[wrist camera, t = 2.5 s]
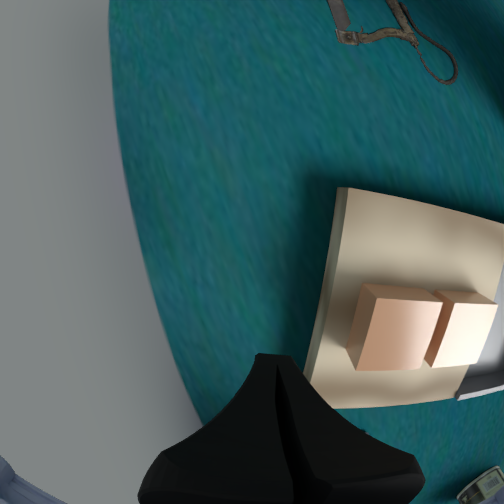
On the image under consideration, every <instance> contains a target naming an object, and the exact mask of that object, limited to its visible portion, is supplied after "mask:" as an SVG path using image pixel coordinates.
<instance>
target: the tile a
mask: <svg viewBox="0 0 504 504" xmlns="http://www.w3.org/2000/svg"><path fill="white" fill-rule="evenodd" d="M442 304H443V302H442V301H440V300H439V299H438V298H436V297H435V296H433V295H432V294H431V293H429V292H428V291H426V290H425V289H424V288H414V287H403V286H392V285H381V284H370V283H362V285H361V290H360V294H359V298H358V303H357V307H356V311H355V315H354V319H353V323H352V327H351V331H350V334H349V338H348V342H347V345H346V351H347V353H348V356H349V358H350V360H351V362H352V364H353V366H354V368H355V370H356V371H390V370H413V369H420V366H421V364H422V362H423V359H424V356H425V354H426V351H427V349H428V346H429V343H430V341H431V338H432V335H433V332H434V329H435V326H436V323H437V320H438V317H439V314H440V311H441V307H442Z"/></svg>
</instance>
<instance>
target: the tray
mask: <svg viewBox="0 0 504 504" xmlns="http://www.w3.org/2000/svg"><path fill="white" fill-rule="evenodd" d="M493 302H495V303H497V304H498V308H497V311H496V314H495V317H494V320H493V323H492V325H491V328H490V331H489V334H488V336H487V339H486V341H485V344H484V346H483V349H482V351H481V354H480V356H479V358H478V361H477V363H476V364H470V365H469V367H468V369H467V372H466V374H465V376H464V378H463V380H462V382H461V384H460V386H459V388H458V390H457V392H456V394H455V398H456V399H457V400H462V399H467V398H471V397H476V396H480V395H484V394H488V393H492V392H496V391H499V390H503V389H504V263H503V267H502V271H501V276H500V279H499V283H498V287H497V291H496V294H495V298H494V301H493Z"/></svg>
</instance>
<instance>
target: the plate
mask: <svg viewBox="0 0 504 504" xmlns="http://www.w3.org/2000/svg"><path fill="white" fill-rule="evenodd" d="M503 263H504V224H501V223H498V222H495V221H491V220H488V219H484V218H481V217H477V216H474V215H470V214H467V213H463V212H459V211H455V210H451V209H447V208H443V207H439V206H435V205H431V204H427V203H423V202H418V201H414V200H409V199H405V198H400V197H395V196H390V195H386V194H381V193H375V192H370V191H365V190H359V189H354V188H345V187H337V194H336V202H335V210H334V217H333V224H332V231H331V237H330V243H329V250H328V256H327V262H326V267H325V273H324V279H323V284H322V289H321V295H320V300H319V305H318V310H317V315H316V319H315V324H314V329H313V333H312V338H311V342H310V347H309V351H308V355H307V360H306V364H305V368H304V372H303V374H304V376H305V377H306V378H307V380H308V381H309V382H310V384H311V385H312V386H313V387H314V389H315V390H316V391H317V392H318V393H319V395H320V396H321V397H322V398H323V399H324V400H325V401H326V402H327V403H328V404H329V405H330V406H331V407H332V408H366V407H382V406H394V405H405V404H414V403H422V402H429V401H436V400H442V399H448V398H454V396H455V394H456V392H457V390H458V388H459V386H460V384H461V382H462V380H463V378H464V376H465V374H466V372H467V369H468V367H469V365H470V364H468V365H460V366H450V367H440V368H431V367H430V366H429V365H428V364H427V362H426V361H425V360H424V359H423V362H422V364H421V366H420V369H413V370H390V371H356V370H355V368H354V366H353V364H352V362H351V360H350V358H349V356H348V353H347V351H346V345H347V342H348V338H349V334H350V331H351V327H352V323H353V319H354V315H355V311H356V307H357V303H358V298H359V294H360V290H361V285H362V283H370V284H381V285H392V286H403V287H414V288H424V289H425V290H426V291H428V292H429V293H431V294H432V295H433V294H434V291H435V289H438V290H451V291H464V292H477V293H480V294H482V295H483V296H485V297H487V298H488V299H490V300H492V301H494V298H495V294H496V291H497V287H498V283H499V279H500V276H501V271H502V267H503Z"/></svg>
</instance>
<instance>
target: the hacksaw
mask: <svg viewBox="0 0 504 504" xmlns="http://www.w3.org/2000/svg"><path fill="white" fill-rule="evenodd" d="M328 2H329V3H328V4H329V6H330V8H331V9H330V10H331V12H332V14H333V18H334V21H335V23H336V24H335V25H336V27H337V29H338V30H335V31H336V34H337V37H338V41H339V43H340V42H341V43H345V44H352V45H359V43H370V42H374V41H377V40H379V39H382V38H384V37H396V38H401V40H406V41H409V42H410V43H411V45H412V46H414V47H415V48H416V49H417V47H418V45H419V42H418V40H417V39H416V37H415V35H413V34H414V32H413V31H412V29H411V27H410V26H409V25H408V21H407V19H406V17H405V15H406V16H407V18H408V20H409V22H410V23H411V25H412V27H413V28H414V29H415V31H416V32H417V33H418V34H419V35H420V36H422V37H423V38H425V39H426V40H428V41H429V42H431V43H432V44H433V45H435V46H436V47H438V48H440V49H441V50H443V51H444V52H446V53H447V54H448V55H449V57H450V58H451V60H452V62H453V64H454V76H453V77H452V79H450V80H447V81H444V80H442V79H439V78H438V77H437V76H435V75H434V74H433V73H432V72H431V71H430V70H429V68H428V67H427V66H426V65H425V62H424V60H423V59H422V58H421V55H422V54H421V53H420V52H419V50H418V49H417V52H418V54H419V55H420V59H421V61H422V63H423V64H424V67H425V68H426V70H427V71H428V72H429V73H430V74H431V75H432V76H433V77H434V78H435V79H436V80H437V81H438V82H440V83H442V84H445V85H448V84H452V83H454V82H455V80H456V79H457V75H458V66H457V63H456V60H455V58H454V57H453V55H452V54H451V53H450V51H448V50H447V49H446V48H445V47H443V46H442V45H440V44H438V43H436V42H435V41H433V40H431V39H430V38H429V37H427V36H426V35H424V34H423V33H422V32H421V31H419V29H418V28H417V27H416V25H415V24H414V22H413V20H412V19H411V17H410V15H409V12H408V10H407V7H406V6H405V5H404V4H403V3H402V2H400V5H399V3H398V1H397V0H386V2H387V4H388V5H389V7H390V8H391V10H392V12H393V14H394V16H395V17H396V19H397V21H398V22H399V25H400V27H401V28H402V29H395V28H384V29H379V30H377V31H376V32H374V33H371V34H368V33H364V34H360V33H362V32H363V28H362V26H361V31H360V33H357V32H351V31H345V30H346V28H347V27H348V26H349V25H350V24H351V23H350V20H349V17H348V14H347V11H346V9H345V6H344V3H343V1H342V0H328ZM400 6H401V7H400ZM402 10H403V11H404V13H405V15H404V13H403V11H402Z"/></svg>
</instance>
